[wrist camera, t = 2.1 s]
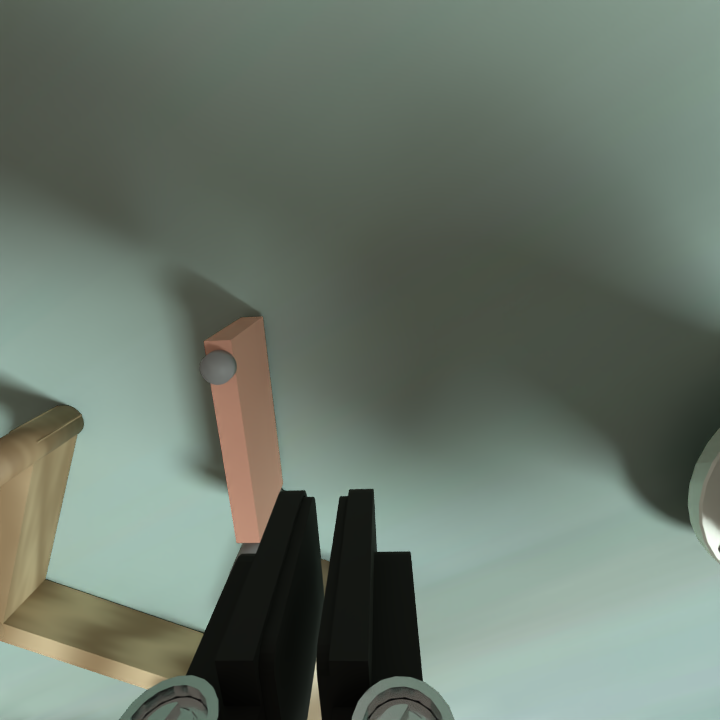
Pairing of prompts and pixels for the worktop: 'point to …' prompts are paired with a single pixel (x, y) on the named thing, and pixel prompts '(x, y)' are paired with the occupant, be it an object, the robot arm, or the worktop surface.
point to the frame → (57, 602)
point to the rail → (245, 425)
